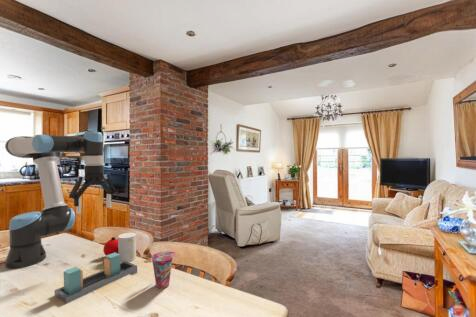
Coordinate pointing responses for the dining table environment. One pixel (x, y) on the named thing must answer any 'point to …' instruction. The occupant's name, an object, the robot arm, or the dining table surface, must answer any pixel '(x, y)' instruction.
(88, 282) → the rail
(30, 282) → the dining table surface
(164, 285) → the cup
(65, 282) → the block
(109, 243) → the ornament
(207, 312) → the dining table surface
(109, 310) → the dining table surface
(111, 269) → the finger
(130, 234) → the cup
